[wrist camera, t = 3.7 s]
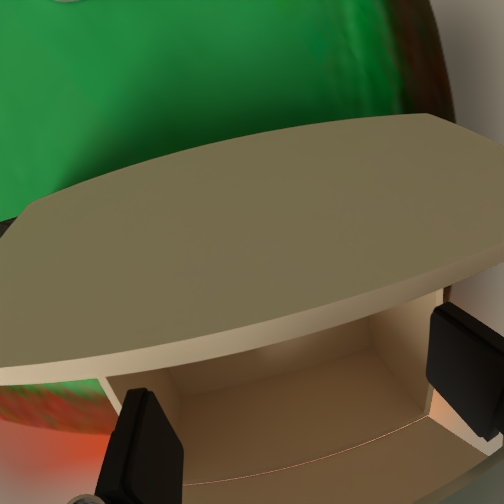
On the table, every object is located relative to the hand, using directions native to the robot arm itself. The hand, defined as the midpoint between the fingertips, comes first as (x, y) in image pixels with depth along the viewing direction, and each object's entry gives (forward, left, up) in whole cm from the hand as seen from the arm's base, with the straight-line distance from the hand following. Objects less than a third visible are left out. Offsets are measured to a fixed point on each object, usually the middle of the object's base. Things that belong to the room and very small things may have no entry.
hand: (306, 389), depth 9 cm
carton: (+3, 0, -19) cm, 20 cm away
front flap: (-6, 0, -2) cm, 6 cm away
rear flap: (+13, 0, -2) cm, 13 cm away
